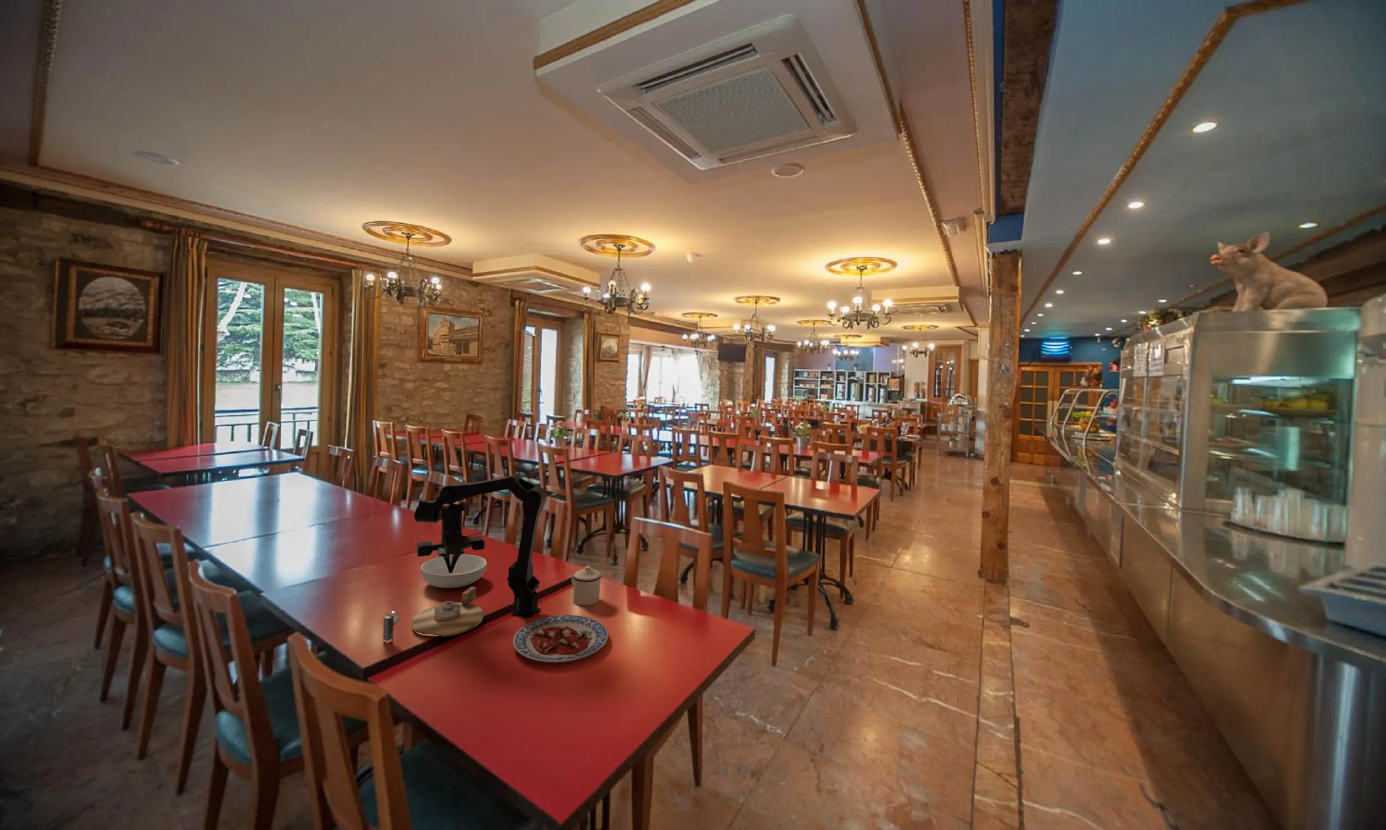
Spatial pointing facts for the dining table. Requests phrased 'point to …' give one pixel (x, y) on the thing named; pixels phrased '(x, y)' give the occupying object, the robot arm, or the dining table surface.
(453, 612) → the cover
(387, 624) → the dial gauge
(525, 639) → the ceramic plate
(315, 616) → the dining table surface
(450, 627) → the tan piece
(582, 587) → the teacup with lid
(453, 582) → the serving bowl
